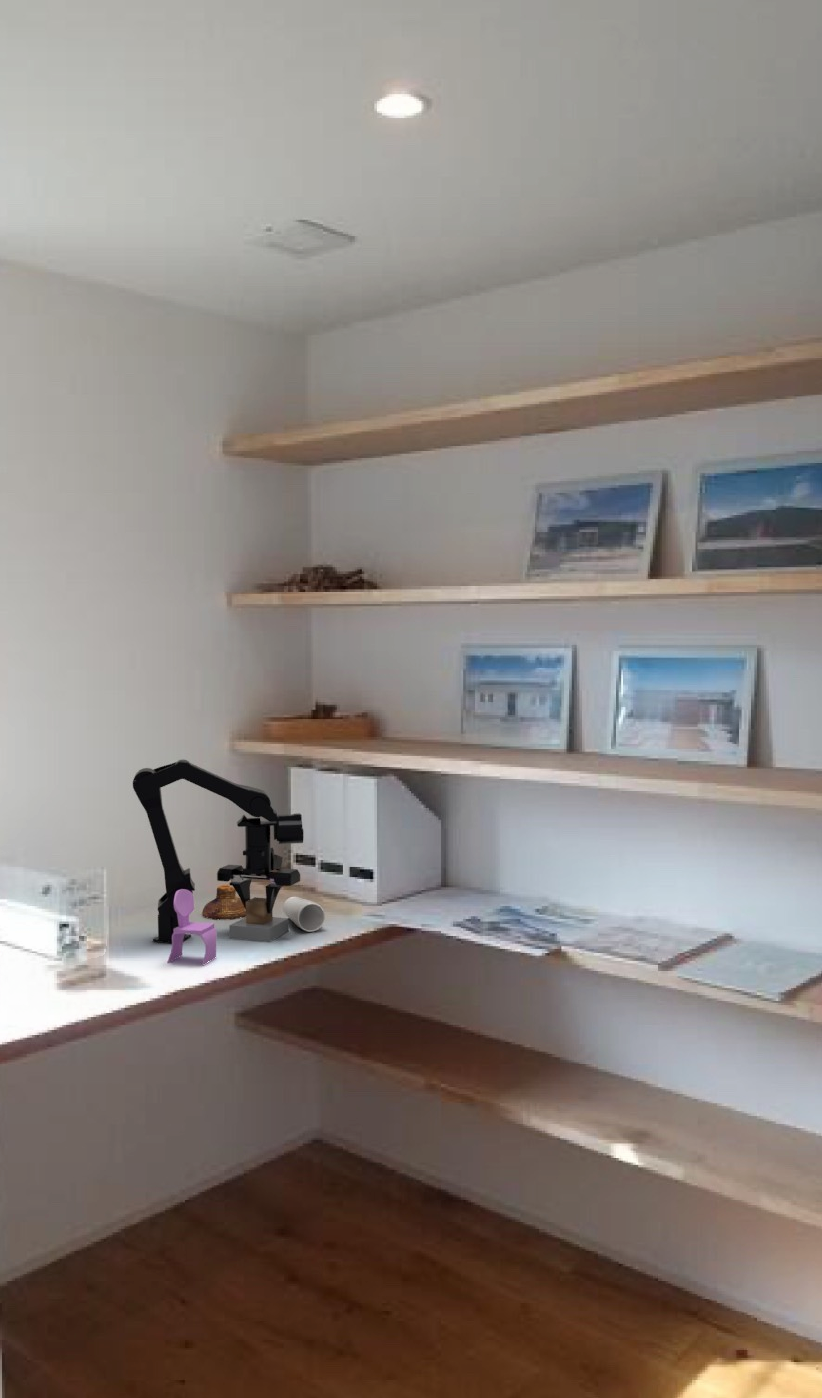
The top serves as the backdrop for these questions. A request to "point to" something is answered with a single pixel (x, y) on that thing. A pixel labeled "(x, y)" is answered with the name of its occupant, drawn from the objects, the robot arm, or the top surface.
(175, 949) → the toy chair
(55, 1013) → the top surface
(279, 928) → the base
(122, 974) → the top surface
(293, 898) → the white hollow cylinder
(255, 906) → the walnut block
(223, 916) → the bell
